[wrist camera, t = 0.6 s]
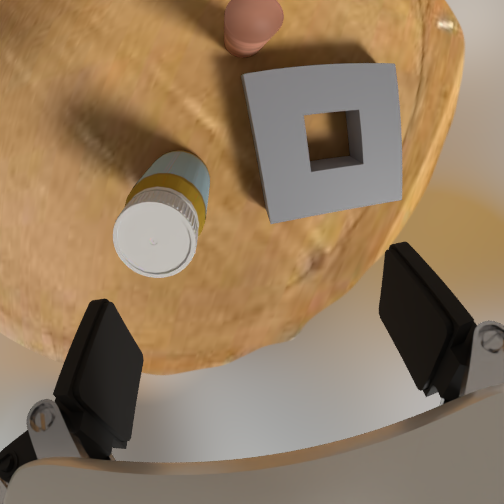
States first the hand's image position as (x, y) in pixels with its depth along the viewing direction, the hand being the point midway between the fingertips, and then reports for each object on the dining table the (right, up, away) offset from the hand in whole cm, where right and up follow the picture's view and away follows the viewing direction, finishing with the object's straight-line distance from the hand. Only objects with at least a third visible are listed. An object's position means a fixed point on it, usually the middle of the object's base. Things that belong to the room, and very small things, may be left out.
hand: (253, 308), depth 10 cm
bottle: (-8, +10, +24) cm, 27 cm away
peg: (-1, +24, +16) cm, 29 cm away
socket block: (+8, +15, +22) cm, 28 cm away
